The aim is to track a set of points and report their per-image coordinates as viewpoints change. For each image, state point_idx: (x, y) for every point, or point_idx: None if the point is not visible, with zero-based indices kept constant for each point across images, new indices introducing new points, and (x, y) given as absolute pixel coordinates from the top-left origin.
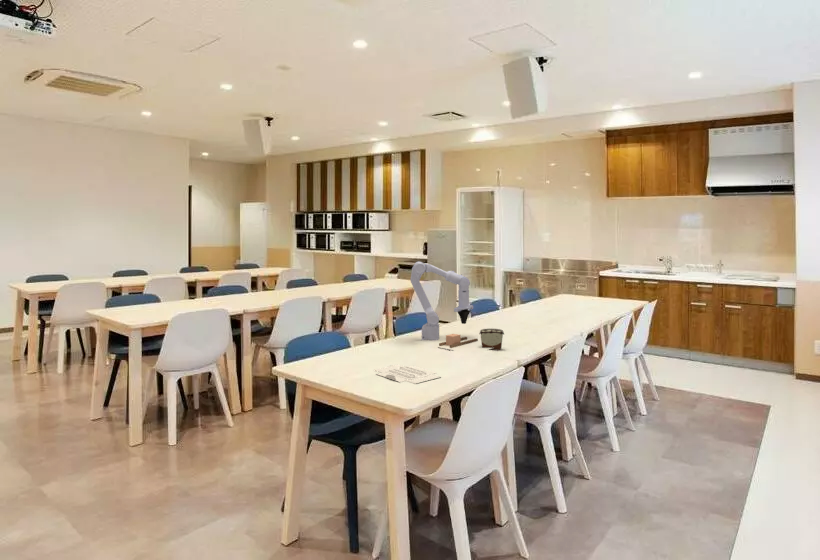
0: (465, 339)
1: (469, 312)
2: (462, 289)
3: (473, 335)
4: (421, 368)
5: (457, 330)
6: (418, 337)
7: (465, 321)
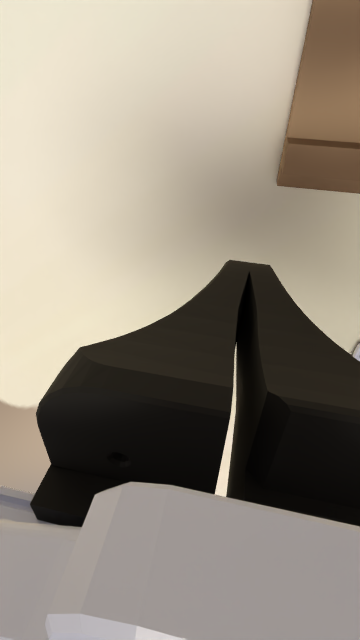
0: (323, 141)
1: (114, 349)
2: None
3: (19, 242)
4: None
5: (4, 391)
6: None
7: (258, 274)
